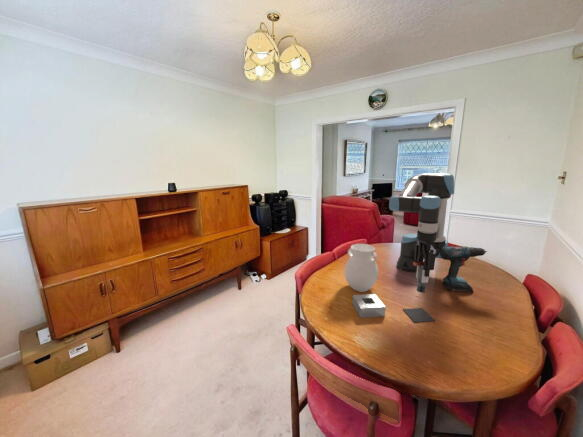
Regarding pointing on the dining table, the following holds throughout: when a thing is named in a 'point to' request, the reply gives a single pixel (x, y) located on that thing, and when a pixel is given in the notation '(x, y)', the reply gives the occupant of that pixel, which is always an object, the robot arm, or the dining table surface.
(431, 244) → the robot arm
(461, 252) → the power drill
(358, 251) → the white vase
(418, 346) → the dining table surface
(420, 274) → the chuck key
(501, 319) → the dining table surface
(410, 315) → the mat
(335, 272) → the dining table surface
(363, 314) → the block
